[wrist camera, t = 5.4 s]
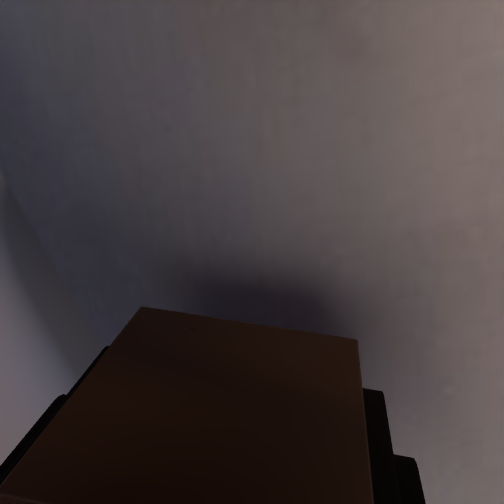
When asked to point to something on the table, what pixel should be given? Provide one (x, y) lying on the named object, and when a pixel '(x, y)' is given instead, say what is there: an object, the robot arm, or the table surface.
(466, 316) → the table surface
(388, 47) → the table surface
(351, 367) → the block
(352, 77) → the table surface
